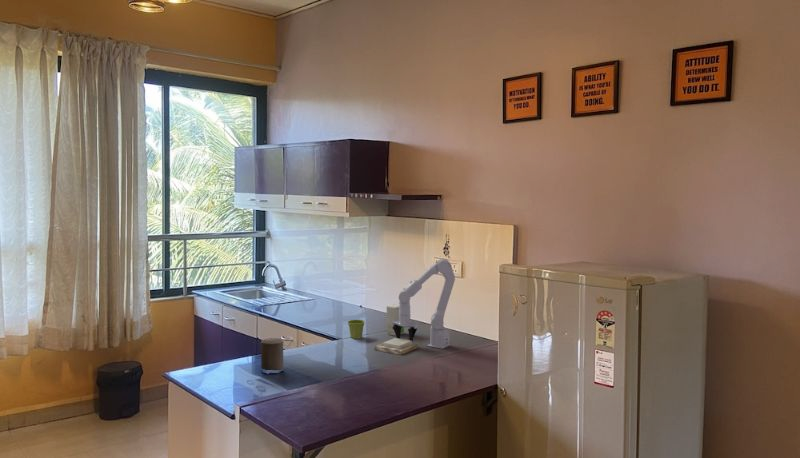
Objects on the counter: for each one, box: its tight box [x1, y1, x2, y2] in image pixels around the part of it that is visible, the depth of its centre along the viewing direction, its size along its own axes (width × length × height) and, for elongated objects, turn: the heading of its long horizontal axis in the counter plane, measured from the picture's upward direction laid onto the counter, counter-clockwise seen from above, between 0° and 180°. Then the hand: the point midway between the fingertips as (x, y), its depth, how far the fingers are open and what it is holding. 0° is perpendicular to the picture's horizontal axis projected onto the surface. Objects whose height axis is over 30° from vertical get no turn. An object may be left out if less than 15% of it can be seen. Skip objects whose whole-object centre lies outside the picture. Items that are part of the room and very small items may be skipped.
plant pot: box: [347, 319, 366, 340], centre depth 317 cm, size 9×9×9 cm
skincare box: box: [386, 304, 405, 337], centre depth 324 cm, size 8×7×16 cm
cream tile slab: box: [382, 337, 413, 349], centre depth 295 cm, size 10×11×4 cm
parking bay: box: [374, 342, 419, 355], centre depth 294 cm, size 16×14×2 cm
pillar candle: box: [260, 337, 284, 370], centre depth 261 cm, size 10×10×15 cm
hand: (404, 340), depth 300 cm, fingers open, 7 cm apart
